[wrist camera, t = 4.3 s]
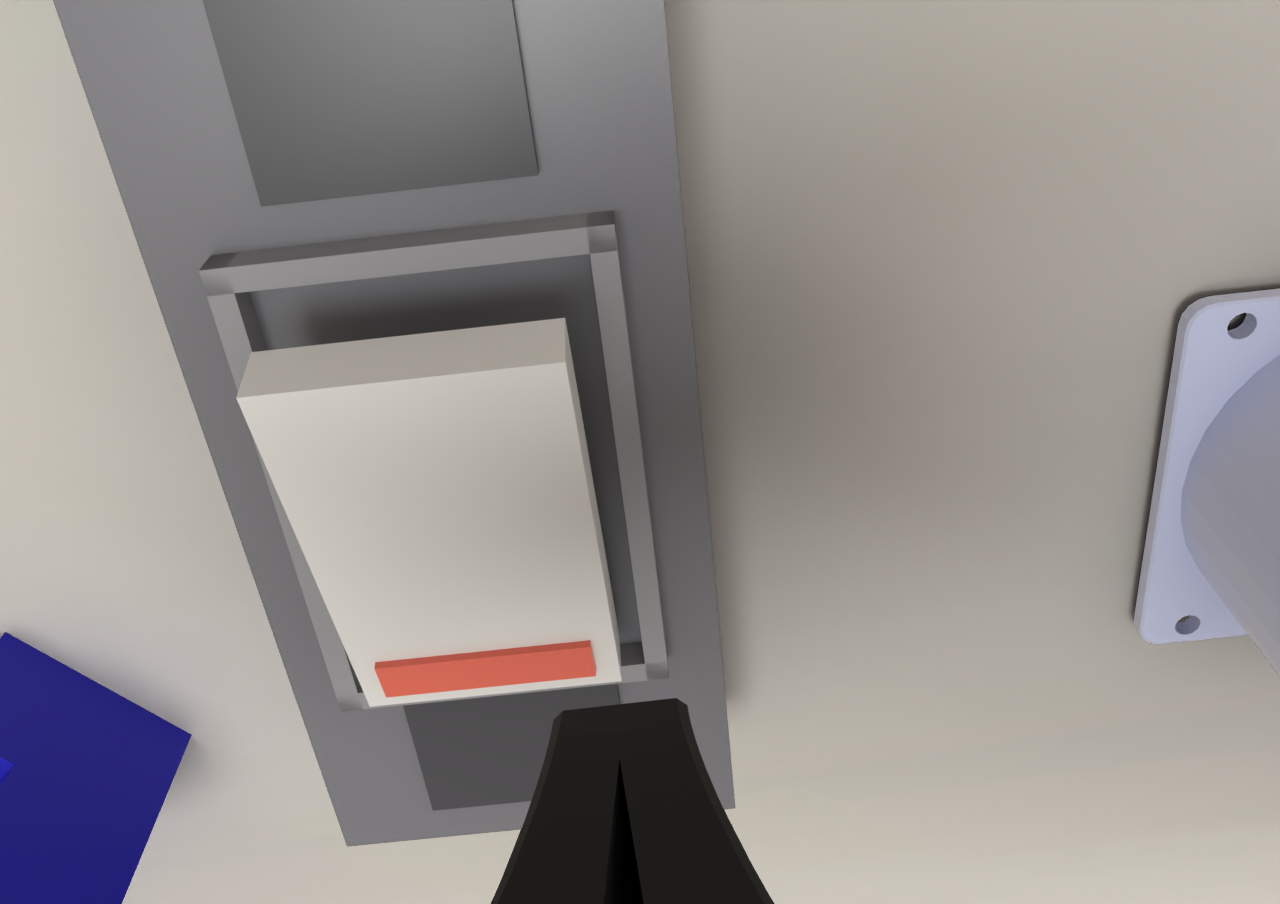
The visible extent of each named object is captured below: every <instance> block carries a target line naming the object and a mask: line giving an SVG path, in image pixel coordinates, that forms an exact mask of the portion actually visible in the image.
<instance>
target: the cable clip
mask: <svg viewBox="0 0 1280 904" xmlns="http://www.w3.org/2000/svg"><path fill="white" fill-rule="evenodd" d="M190 737H191V734H189V733H187V732H185V731H184V730H182V729H180V728H178V727H176V726H174V725H173V724H171V723H169V722H167V721H165V720H164V719H162V718H160V717H158V716H156V715H155V714H153V713H151V712H149V711H147V710H145V709H144V708H142V707H140V706H138V705H136V704H135V703H133V702H131V701H129V700H127V699H126V698H124V697H122V696H120V695H118V694H117V693H115V692H113V691H111V690H109V689H107V688H106V687H104V686H102V685H100V684H98V683H97V682H95V681H93V680H91V679H89V678H88V677H86V676H84V675H82V674H80V673H78V672H77V671H75V670H73V669H71V668H69V667H68V666H66V665H64V664H62V663H60V662H59V661H57V660H55V659H53V658H51V657H49V656H48V655H46V654H44V653H42V652H40V651H39V650H37V649H35V648H33V647H31V646H30V645H28V644H26V643H24V642H22V641H21V640H19V639H17V638H15V637H13V636H11V635H10V634H8V633H6V632H5V633H4V634H3V635H2V637H1V638H0V904H122V901H123V899H124V897H125V894H126V892H127V889H128V887H129V885H130V882H131V880H132V877H133V875H134V872H135V870H136V868H137V865H138V863H139V860H140V858H141V856H142V853H143V851H144V848H145V846H146V843H147V841H148V839H149V836H150V834H151V831H152V829H153V827H154V824H155V822H156V819H157V817H158V814H159V812H160V810H161V807H162V805H163V802H164V800H165V798H166V795H167V793H168V790H169V788H170V785H171V783H172V781H173V778H174V776H175V773H176V771H177V769H178V766H179V764H180V761H181V759H182V756H183V754H184V752H185V749H186V747H187V744H188V742H189V740H190Z"/></svg>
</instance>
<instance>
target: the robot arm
mask: <svg viewBox="0 0 1280 904" xmlns="http://www.w3.org/2000/svg"><path fill="white" fill-rule="evenodd" d="M1242 313H1246V317H1245V320H1244V322H1243V323H1242V324H1241V325H1240V326H1238V327H1237V328H1235V329H1232V330H1227V327H1228V325H1229V323H1230V321H1231V320H1232V319H1233V318H1234V317H1235V316H1236V315H1239V314H1242ZM1189 615H1190V617H1189V618H1188V619H1186V620H1185V621H1183V622H1179V623H1177V621H1179V620H1180V619H1181V618H1182V617H1185V616H1189ZM1134 625H1135V628H1136V629H1137V631H1138V632H1139V634H1140V635H1141V637H1142V638H1143V639H1144V640H1145V641H1147V642H1149V643H1151V644H1165V643H1175V642H1185V641H1194V640H1204V639H1214V638H1224V637H1234V636H1244V635H1248V636H1249V637H1250V638H1251V640H1252V641H1253V642H1254V644H1255V645H1256V646H1257V648H1258V649H1259V650H1260V652H1261V653H1262V654H1263V656H1264V657H1265V658H1266V660H1267V661H1268V662H1269V664H1270V665H1271V666H1272V668H1273V669H1274V670H1275V672H1276V673H1277V674H1278V676H1279V677H1280V289H1271V290H1261V291H1252V292H1243V293H1234V294H1225V295H1215V296H1208V297H1205V298H1201V299H1198V300H1197V301H1195V302H1194V303H1192V304H1191V305H1189V306H1188V307H1187V309H1186V310H1185V311H1184V312H1183V314H1182V315H1181V318H1180V321H1179V323H1178V329H1177V336H1176V343H1175V349H1174V356H1173V362H1172V369H1171V376H1170V382H1169V389H1168V396H1167V402H1166V409H1165V416H1164V422H1163V429H1162V436H1161V442H1160V449H1159V456H1158V462H1157V469H1156V476H1155V482H1154V489H1153V495H1152V502H1151V509H1150V515H1149V522H1148V529H1147V535H1146V542H1145V549H1144V555H1143V562H1142V569H1141V575H1140V582H1139V589H1138V595H1137V602H1136V609H1135V615H1134ZM491 904H774V902H773V901H772V899H771V897H770V896H769V894H768V892H767V891H766V889H765V887H764V885H763V883H762V882H761V880H760V878H759V876H758V875H757V873H756V871H755V869H754V867H753V866H752V864H751V862H750V860H749V858H748V856H747V854H746V852H745V850H744V848H743V846H742V844H741V842H740V840H739V838H738V837H737V835H736V833H735V831H734V829H733V827H732V825H731V823H730V821H729V819H728V817H727V815H726V813H725V811H724V808H723V806H722V804H721V802H720V800H719V798H718V796H717V793H716V791H715V788H714V786H713V784H712V781H711V779H710V777H709V774H708V772H707V770H706V767H705V764H704V762H703V759H702V756H701V754H700V751H699V748H698V745H697V742H696V739H695V736H694V732H693V729H692V725H691V721H690V717H689V712H688V706H687V705H686V704H685V703H683V702H682V701H680V700H679V699H677V698H671V699H662V700H653V701H644V702H635V703H626V704H617V705H608V706H599V707H591V708H582V709H573V710H564V711H562V712H561V713H560V714H559V715H558V716H557V717H556V718H555V719H554V720H553V725H552V730H551V735H550V740H549V744H548V748H547V751H546V755H545V759H544V763H543V766H542V770H541V773H540V776H539V779H538V783H537V786H536V789H535V792H534V795H533V798H532V800H531V803H530V806H529V809H528V812H527V815H526V818H525V821H524V823H523V826H522V828H521V831H520V834H519V836H518V839H517V841H516V844H515V846H514V849H513V852H512V854H511V857H510V859H509V862H508V864H507V867H506V869H505V872H504V875H503V877H502V879H501V882H500V884H499V886H498V889H497V891H496V893H495V896H494V898H493V900H492V902H491Z"/></svg>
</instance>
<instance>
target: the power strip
mask: <svg viewBox="0 0 1280 904" xmlns="http://www.w3.org/2000/svg"><path fill="white" fill-rule="evenodd" d="M53 2H54V5H55V7H56V10H57V13H58V16H59V19H60V22H61V25H62V28H63V30H64V33H65V36H66V39H67V42H68V45H69V48H70V51H71V53H72V56H73V59H74V62H75V65H76V68H77V71H78V74H79V76H80V79H81V82H82V85H83V88H84V91H85V94H86V97H87V99H88V102H89V105H90V108H91V111H92V114H93V117H94V120H95V122H96V125H97V128H98V131H99V134H100V137H101V140H102V143H103V145H104V148H105V151H106V154H107V157H108V160H109V163H110V166H111V168H112V171H113V174H114V177H115V180H116V183H117V186H118V189H119V192H120V194H121V197H122V200H123V203H124V206H125V209H126V212H127V215H128V217H129V220H130V223H131V226H132V229H133V232H134V235H135V238H136V240H137V243H138V246H139V249H140V252H141V255H142V258H143V261H144V263H145V266H146V269H147V272H148V275H149V278H150V281H151V284H152V286H153V289H154V292H155V295H156V298H157V301H158V304H159V307H160V309H161V312H162V315H163V318H164V321H165V324H166V327H167V330H168V332H169V335H170V338H171V341H172V344H173V347H174V350H175V353H176V355H177V358H178V361H179V364H180V367H181V370H182V373H183V376H184V379H185V381H186V384H187V387H188V390H189V393H190V396H191V399H192V402H193V404H194V407H195V410H196V413H197V416H198V419H199V422H200V425H201V427H202V430H203V433H204V436H205V439H206V442H207V445H208V448H209V450H210V453H211V456H212V459H213V462H214V465H215V468H216V471H217V473H218V476H219V479H220V482H221V485H222V488H223V491H224V494H225V496H226V499H227V502H228V505H229V508H230V511H231V514H232V517H233V519H234V522H235V525H236V528H237V531H238V534H239V537H240V540H241V542H242V545H243V548H244V551H245V554H246V557H247V560H248V563H249V565H250V568H251V571H252V574H253V577H254V580H255V583H256V586H257V589H258V591H259V594H260V597H261V600H262V603H263V606H264V609H265V612H266V614H267V617H268V620H269V623H270V626H271V629H272V632H273V635H274V637H275V640H276V643H277V646H278V649H279V652H280V655H281V658H282V660H283V663H284V666H285V669H286V672H287V675H288V678H289V681H290V683H291V686H292V689H293V692H294V695H295V698H296V701H297V704H298V706H299V709H300V712H301V715H302V718H303V721H304V724H305V727H306V729H307V732H308V735H309V738H310V741H311V744H312V747H313V750H314V752H315V755H316V758H317V761H318V764H319V767H320V770H321V773H322V776H323V778H324V781H325V784H326V787H327V790H328V793H329V796H330V799H331V801H332V804H333V807H334V810H335V813H336V816H337V819H338V822H339V824H340V827H341V830H342V833H343V836H344V839H345V842H346V845H347V846H357V845H367V844H377V843H387V842H397V841H408V840H418V839H428V838H438V837H448V836H458V835H468V834H478V833H489V832H499V831H509V830H519V829H521V828H522V826H523V823H524V821H525V818H526V815H527V812H528V809H529V806H530V803H531V800H532V798H533V795H534V792H535V789H536V786H537V783H538V779H539V776H540V773H541V770H542V766H543V763H544V759H545V755H546V751H547V748H548V744H549V740H550V735H551V730H552V725H553V720H554V719H555V718H556V717H557V716H558V715H559V714H560V713H561V712H562V711H564V710H573V709H582V708H591V707H599V706H608V705H617V704H626V703H635V702H644V701H653V700H662V699H671V698H677V699H679V700H680V701H682V702H683V703H685V704H686V705H687V706H688V712H689V717H690V721H691V725H692V729H693V732H694V736H695V739H696V742H697V745H698V748H699V751H700V754H701V756H702V759H703V762H704V764H705V767H706V770H707V772H708V774H709V777H710V779H711V781H712V784H713V786H714V788H715V791H716V793H717V796H718V798H719V800H720V802H721V804H722V806H723V808H724V809H732V808H735V799H734V788H733V777H732V766H731V754H730V743H729V732H728V720H727V709H726V698H725V686H724V675H723V664H722V653H721V641H720V630H719V619H718V607H717V596H716V585H715V574H714V562H713V551H712V540H711V528H710V517H709V506H708V494H707V483H706V472H705V461H704V449H703V438H702V427H701V415H700V404H699V393H698V382H697V370H696V359H695V348H694V336H693V325H692V314H691V302H690V291H689V280H688V269H687V257H686V246H685V235H684V223H683V212H682V201H681V190H680V178H679V167H678V156H677V144H676V133H675V122H674V110H673V99H672V88H671V77H670V65H669V54H668V43H667V31H666V20H665V9H664V0H53ZM558 318H565V320H566V326H567V332H568V337H569V343H570V349H571V355H572V361H573V367H574V372H575V378H576V384H577V390H578V396H579V402H580V407H581V413H582V419H583V425H584V431H585V437H586V442H587V448H588V454H589V460H590V466H591V472H592V478H593V483H594V489H595V495H596V501H597V507H598V513H599V518H600V524H601V530H602V536H603V542H604V548H605V553H606V559H607V565H608V571H609V577H610V583H611V588H612V594H613V600H614V606H615V612H616V618H617V624H618V629H619V635H620V654H621V674H622V681H619V682H609V683H599V684H589V685H580V686H570V687H560V688H550V689H540V690H530V691H521V692H511V693H501V694H491V695H481V696H471V697H462V698H452V699H442V700H432V701H422V702H412V703H403V704H393V705H383V706H373V707H370V706H369V704H368V701H367V699H366V697H365V694H364V692H363V690H362V687H361V685H360V683H359V681H358V678H357V676H356V674H355V671H354V669H353V667H352V664H351V662H350V660H349V657H348V655H347V653H346V651H345V648H344V646H343V644H342V641H341V639H340V637H339V634H338V632H337V630H336V627H335V625H334V623H333V620H332V618H331V616H330V614H329V611H328V609H327V607H326V604H325V602H324V600H323V597H322V595H321V593H320V590H319V588H318V586H317V584H316V581H315V579H314V577H313V574H312V572H311V570H310V567H309V565H308V563H307V560H306V558H305V556H304V554H303V551H302V549H301V547H300V544H299V542H298V540H297V537H296V535H295V533H294V530H293V528H292V526H291V524H290V521H289V519H288V517H287V514H286V512H285V510H284V507H283V505H282V503H281V500H280V498H279V496H278V494H277V491H276V489H275V487H274V484H273V482H272V480H271V477H270V475H269V473H268V470H267V468H266V466H265V464H264V461H263V459H262V457H261V454H260V452H259V450H258V447H257V445H256V443H255V440H254V438H253V436H252V434H251V431H250V429H249V427H248V424H247V422H246V420H245V417H244V415H243V413H242V410H241V408H240V406H239V404H238V401H237V399H236V397H237V394H238V391H239V388H240V385H241V381H242V378H243V375H244V372H245V369H246V366H247V363H248V360H249V357H250V354H251V352H258V351H267V350H276V349H285V348H294V347H303V346H312V345H322V344H331V343H340V342H349V341H358V340H367V339H376V338H385V337H394V336H403V335H413V334H422V333H431V332H440V331H449V330H458V329H467V328H476V327H485V326H495V325H504V324H513V323H522V322H531V321H540V320H549V319H558Z"/></svg>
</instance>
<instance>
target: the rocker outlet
mask: <svg viewBox="0 0 1280 904" xmlns="http://www.w3.org/2000/svg"><path fill="white" fill-rule="evenodd" d="M236 399H237V401H238V404H239V406H240V408H241V410H242V413H243V415H244V417H245V420H246V422H247V424H248V427H249V429H250V431H251V434H252V436H253V438H254V440H255V443H256V445H257V447H258V450H259V452H260V454H261V457H262V459H263V461H264V464H265V466H266V468H267V470H268V473H269V475H270V477H271V480H272V482H273V484H274V487H275V489H276V491H277V494H278V496H279V498H280V500H281V503H282V505H283V507H284V510H285V512H286V514H287V517H288V519H289V521H290V524H291V526H292V528H293V530H294V533H295V535H296V537H297V540H298V542H299V544H300V547H301V549H302V551H303V554H304V556H305V558H306V560H307V563H308V565H309V567H310V570H311V572H312V574H313V577H314V579H315V581H316V584H317V586H318V588H319V590H320V593H321V595H322V597H323V600H324V602H325V604H326V607H327V609H328V611H329V614H330V616H331V618H332V620H333V623H334V625H335V627H336V630H337V632H338V634H339V637H340V639H341V641H342V644H343V646H344V648H345V651H346V653H347V655H348V657H349V660H350V662H351V664H352V667H353V669H354V671H355V674H356V676H357V678H358V681H359V683H360V685H361V687H362V690H363V692H364V694H365V697H366V699H367V701H368V704H369V706H370V707H373V706H383V705H393V704H403V703H412V702H422V701H432V700H442V699H452V698H462V697H471V696H481V695H491V694H501V693H511V692H521V691H530V690H540V689H550V688H560V687H570V686H580V685H589V684H599V683H609V682H619V681H622V674H621V654H620V635H619V629H618V624H617V618H616V612H615V606H614V600H613V594H612V588H611V583H610V577H609V571H608V565H607V559H606V553H605V548H604V542H603V536H602V530H601V524H600V518H599V513H598V507H597V501H596V495H595V489H594V483H593V478H592V472H591V466H590V460H589V454H588V448H587V442H586V437H585V431H584V425H583V419H582V413H581V407H580V402H579V396H578V390H577V384H576V378H575V372H574V367H573V361H572V355H571V349H570V343H569V337H568V332H567V326H566V320H565V318H558V319H549V320H540V321H531V322H522V323H513V324H504V325H495V326H485V327H476V328H467V329H458V330H449V331H440V332H431V333H422V334H413V335H403V336H394V337H385V338H376V339H367V340H358V341H349V342H340V343H331V344H322V345H312V346H303V347H294V348H285V349H276V350H267V351H258V352H251V354H250V357H249V360H248V363H247V366H246V369H245V372H244V375H243V378H242V381H241V385H240V388H239V391H238V394H237V397H236Z"/></svg>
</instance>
